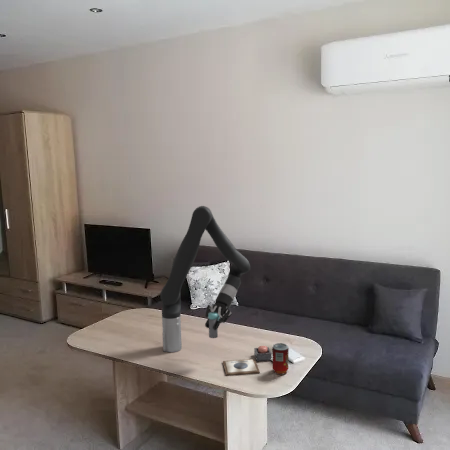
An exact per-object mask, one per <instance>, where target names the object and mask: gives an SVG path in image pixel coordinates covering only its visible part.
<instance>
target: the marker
mask: <svg viewBox="0 0 450 450" xmlns="http://www.w3.org/2000/svg"><path fill="white" fill-rule="evenodd" d="M217 317H218V316H217V313H216V312H210V313H208V318H209V328H208V337H209V338H210V339H217V338H218V337H219V336H218V333H219V331H218V329H216V330H214V329H213V326H214V324H215V322H216V321H217ZM208 318H207V319H208Z"/></svg>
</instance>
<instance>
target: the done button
mask: <svg viewBox="0 0 450 450" xmlns="http://www.w3.org/2000/svg"><path fill="white" fill-rule="evenodd" d="M267 347H268V346H266V345H260V346H259V345H258V346H257V348H258V353H267Z"/></svg>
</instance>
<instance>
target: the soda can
mask: <svg viewBox="0 0 450 450" xmlns="http://www.w3.org/2000/svg"><path fill="white" fill-rule="evenodd" d="M289 349H290V348H289V346H288V345H287V344H286V343H282V342H279V343H278V342H277V343H275V344H273V345H272V370H273V372H274V374H277V375H285V374H287V372H288V370H289Z"/></svg>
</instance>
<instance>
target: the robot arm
mask: <svg viewBox="0 0 450 450" xmlns="http://www.w3.org/2000/svg"><path fill="white" fill-rule="evenodd" d="M205 231H206V232H207V234H209V236H210V237H211V239H212V242H213V243H214V244H215V246H216V248H217V249H218V251H219V252H220V254H221V255H222V257H223V258H225V260H226V261H229V262H231V263H232V265H230V268H229V271H228V276H227V278H226V280H225V282H224V284H223V286H222V287H221V289H220V291H219V292H218V294H217V297H216V298H215V301H214V302H215V303H213V305H207V306H206V312H205V316H204V317H206V318H207V320H206V322H205V324H204V326H205V328H206V329H209V318H208V313H210V312H216V313H217V316H218V317H217V321H216V322H215V324H214V326H213V329H214V330H216V329H218V328H220V325H221V324H222V323H223V324H225V323H226V322H227V320H229V318H231V316H232V314H233V313H232V312H231V310H229V309H230V308H231V306H232V303H233V301H234V299H235V298H236V295H237V293H238V290H239V288H240V286H241V284H242V279H241V277H242V275H244V274H247V273H249V271H251V264H250V261H249V260H248V259H247V257H246V256H245V255H243V254H242V253H241V252H240V251H239V250H237V248H236V247H235V246H234V244H233V243H232V242H231V240H230V239H229V237H227V235H226V233H225V232H224V231H223V229H221V227H220V225H219V224H218V223H217V221H216V219H215V217H214V215H213V213H212V210H211V209H210V208H209V207H208V206H205V205H201V206H197V207H196V208H195V209H194V210H193V212H192V214H191V219H190V223H189V226H188V229H187V231H186V234H185V236H184V237H183V239H182V241H181V243H180V244H179V247H178V249H177V251H176V255H175V256H174V260H173V264H172V267H171V270H170V273H169V277H168V279H167V281H166V283H165V285H164V286H163V287H162V289H161V291H160V300H161V302H162V303H161V304H162V305H161V306H162V308H161V320H162V322H161V323H162V328H161V329H162V332H161V333H162V351H163V352H167V353H176V352H178V351H181V350H182V347H183V346H182V320H181V319H182V318H181V316H182V315H181V305H182V304H181V303H182V301H181V295H182V294H181V289H182V286H183V284H184V282H185V279H186V278H187V275H188V274H189V272H190V270H191V269H192V267H193V264H194V262H195V259H196V257H197V255H198V251H199V247H200V244H201V240H202V237H203V235H204V233H205Z"/></svg>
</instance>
